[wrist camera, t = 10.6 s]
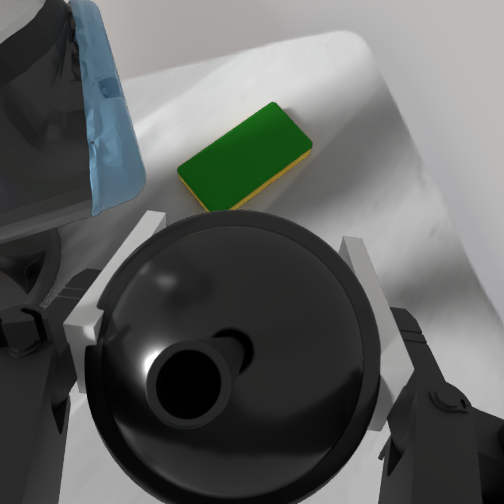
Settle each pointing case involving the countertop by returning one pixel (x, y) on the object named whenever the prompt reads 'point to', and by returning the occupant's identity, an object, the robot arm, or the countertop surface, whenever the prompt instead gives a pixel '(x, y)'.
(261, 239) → the drinking cup
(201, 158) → the dish sponge
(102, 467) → the countertop surface
